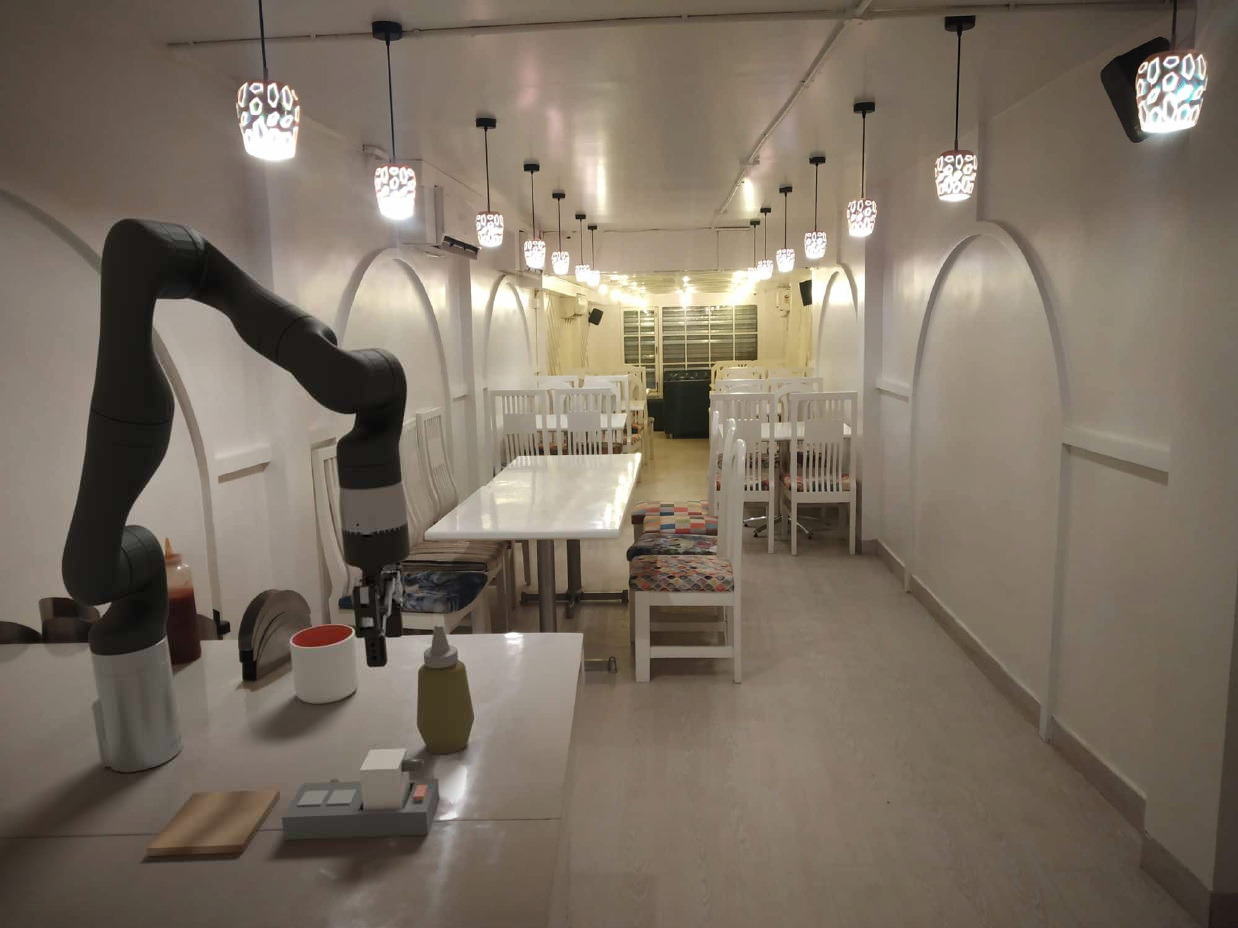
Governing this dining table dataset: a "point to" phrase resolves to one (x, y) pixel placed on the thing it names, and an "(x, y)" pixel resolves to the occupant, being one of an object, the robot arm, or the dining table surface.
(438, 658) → the squeeze bottle
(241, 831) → the walnut board
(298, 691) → the cup
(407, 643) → the dining table surface
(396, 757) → the block
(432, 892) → the dining table surface
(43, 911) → the dining table surface
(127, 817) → the dining table surface
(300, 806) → the power strip
